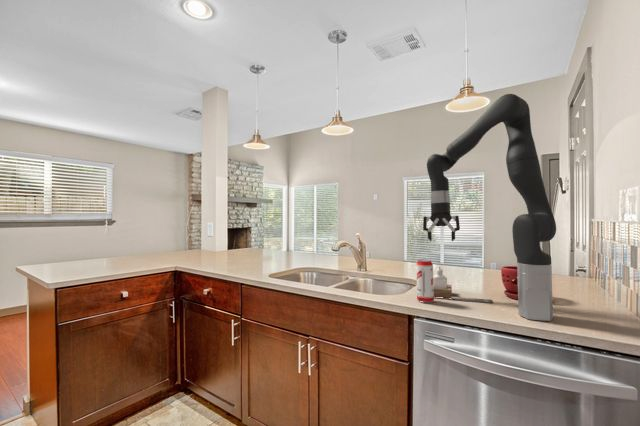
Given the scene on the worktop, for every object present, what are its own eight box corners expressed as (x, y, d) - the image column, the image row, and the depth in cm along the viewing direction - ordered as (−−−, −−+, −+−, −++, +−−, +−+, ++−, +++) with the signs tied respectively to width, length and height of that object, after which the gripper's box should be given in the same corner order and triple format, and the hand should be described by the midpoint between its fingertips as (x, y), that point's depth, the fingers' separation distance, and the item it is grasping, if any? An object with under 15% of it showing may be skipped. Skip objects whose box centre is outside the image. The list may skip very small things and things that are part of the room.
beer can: (431, 299, 125) (430, 259, 125) (435, 303, 118) (434, 261, 119) (415, 299, 125) (414, 259, 125) (419, 303, 119) (417, 261, 119)
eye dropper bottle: (445, 297, 127) (444, 267, 127) (431, 295, 131) (430, 266, 131) (448, 295, 131) (447, 266, 131) (435, 293, 134) (434, 265, 134)
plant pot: (549, 301, 118) (548, 269, 119) (513, 301, 119) (513, 270, 119) (526, 293, 131) (526, 264, 132) (495, 293, 132) (494, 265, 132)
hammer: (493, 303, 117) (493, 294, 117) (427, 298, 127) (426, 289, 127) (490, 295, 128) (490, 287, 128) (429, 291, 138) (429, 283, 138)
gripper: (421, 202, 130) (422, 241, 130) (458, 200, 125) (460, 241, 124) (423, 203, 137) (424, 240, 137) (458, 201, 132) (460, 240, 131)
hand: (441, 240), depth 131 cm, fingers open, 8 cm apart
